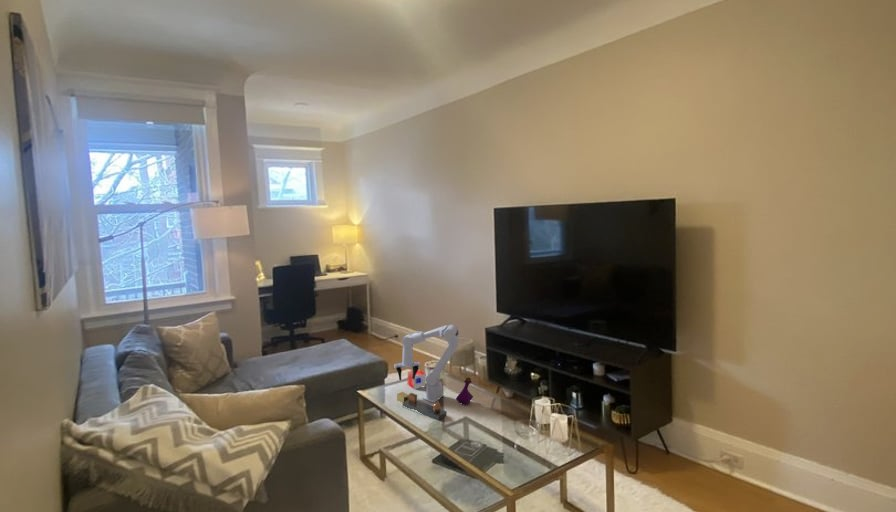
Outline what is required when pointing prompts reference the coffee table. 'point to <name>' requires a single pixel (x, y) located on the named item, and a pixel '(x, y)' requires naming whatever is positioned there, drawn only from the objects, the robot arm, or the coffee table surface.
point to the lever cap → (402, 397)
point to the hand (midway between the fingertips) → (406, 379)
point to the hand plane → (425, 408)
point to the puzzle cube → (416, 379)
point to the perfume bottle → (465, 392)
